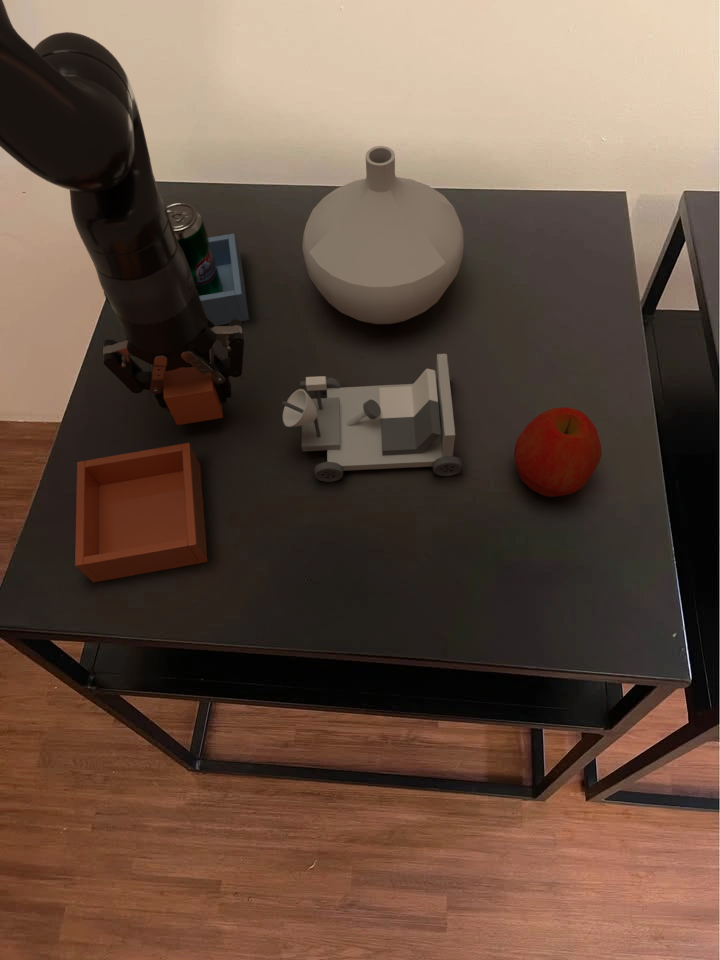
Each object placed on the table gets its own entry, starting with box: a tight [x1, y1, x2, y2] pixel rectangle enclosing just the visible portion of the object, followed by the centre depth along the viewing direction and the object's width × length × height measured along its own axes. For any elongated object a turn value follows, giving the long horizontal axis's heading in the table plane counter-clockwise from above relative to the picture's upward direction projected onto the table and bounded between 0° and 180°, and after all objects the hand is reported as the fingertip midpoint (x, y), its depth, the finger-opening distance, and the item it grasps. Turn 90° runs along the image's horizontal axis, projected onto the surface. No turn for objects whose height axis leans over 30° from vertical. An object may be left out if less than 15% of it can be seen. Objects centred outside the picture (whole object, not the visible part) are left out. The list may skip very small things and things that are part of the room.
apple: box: [513, 406, 602, 498], centre depth 70 cm, size 8×8×11 cm
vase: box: [301, 145, 465, 325], centre depth 80 cm, size 18×18×19 cm
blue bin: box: [199, 233, 250, 326], centre depth 88 cm, size 10×10×5 cm
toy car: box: [281, 353, 463, 483], centre depth 74 cm, size 18×10×12 cm
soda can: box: [165, 202, 223, 296], centre depth 84 cm, size 5×5×12 cm
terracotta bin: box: [74, 442, 208, 583], centre depth 73 cm, size 12×12×5 cm
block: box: [163, 367, 224, 426], centre depth 76 cm, size 5×5×5 cm
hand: (197, 400), depth 78 cm, fingers closed on block, 5 cm apart
